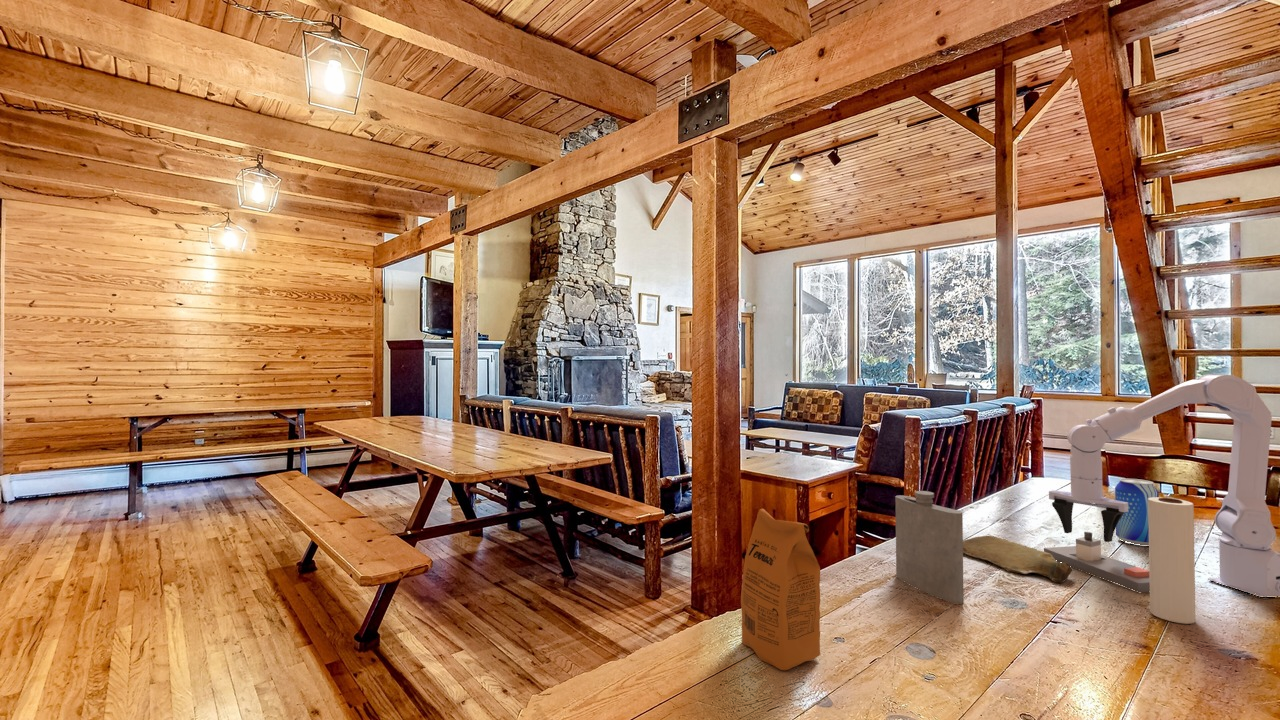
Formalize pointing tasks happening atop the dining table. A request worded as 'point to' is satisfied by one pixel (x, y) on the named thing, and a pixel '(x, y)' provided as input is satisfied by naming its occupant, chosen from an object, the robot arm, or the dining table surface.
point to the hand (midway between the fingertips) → (1087, 536)
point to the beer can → (1134, 509)
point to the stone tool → (1016, 557)
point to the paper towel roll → (1172, 559)
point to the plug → (1088, 547)
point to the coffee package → (781, 593)
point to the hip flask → (930, 546)
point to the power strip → (1105, 568)
